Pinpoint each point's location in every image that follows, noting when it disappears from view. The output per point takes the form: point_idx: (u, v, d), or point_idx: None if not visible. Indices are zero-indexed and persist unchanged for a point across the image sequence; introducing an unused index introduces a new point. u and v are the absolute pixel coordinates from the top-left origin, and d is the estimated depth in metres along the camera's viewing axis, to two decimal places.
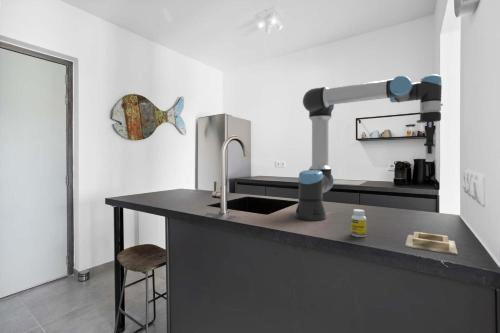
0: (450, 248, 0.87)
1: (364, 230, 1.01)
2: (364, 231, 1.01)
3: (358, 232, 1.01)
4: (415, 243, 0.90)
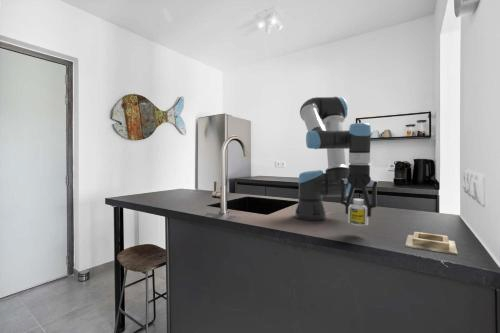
0: (450, 248, 0.87)
1: (364, 219, 1.02)
2: (363, 220, 1.02)
3: (358, 221, 1.02)
4: (415, 243, 0.90)
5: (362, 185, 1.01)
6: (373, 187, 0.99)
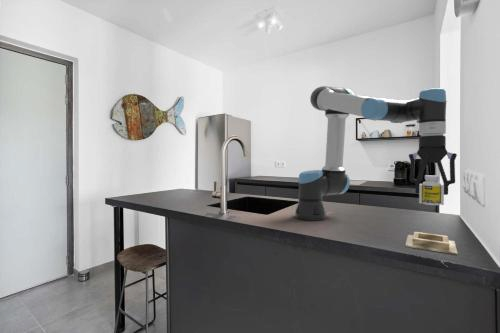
0: (450, 248, 0.87)
1: (440, 198, 0.89)
2: (439, 198, 0.89)
3: (433, 200, 0.89)
4: (415, 243, 0.90)
5: (437, 158, 0.89)
6: (451, 160, 0.87)
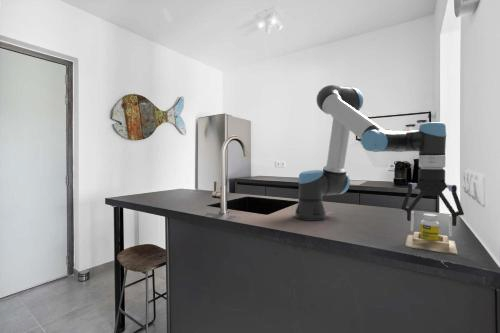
0: (450, 248, 0.87)
1: (438, 237, 0.90)
2: (437, 238, 0.90)
3: (431, 239, 0.90)
4: (415, 243, 0.90)
5: (438, 192, 0.89)
6: (453, 192, 0.87)
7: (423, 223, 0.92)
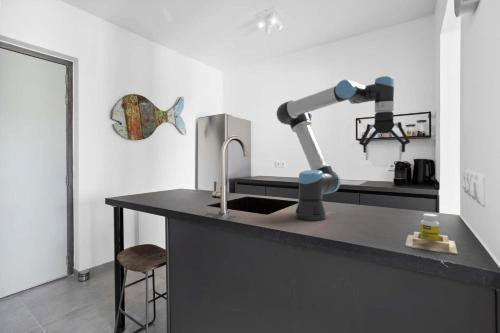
0: (450, 248, 0.87)
1: (438, 237, 0.90)
2: (437, 238, 0.90)
3: None
4: (415, 243, 0.90)
5: (388, 129, 1.17)
6: (399, 127, 1.15)
7: (423, 223, 0.92)
